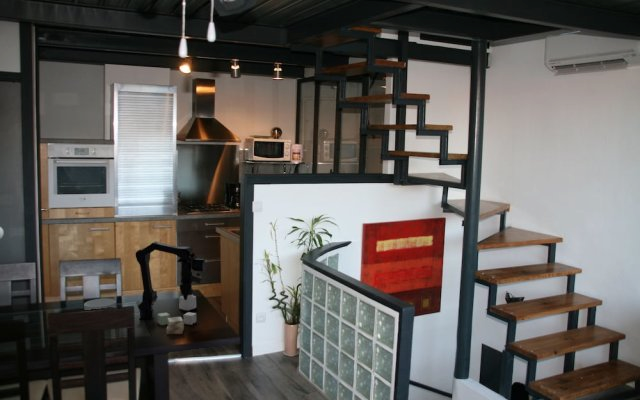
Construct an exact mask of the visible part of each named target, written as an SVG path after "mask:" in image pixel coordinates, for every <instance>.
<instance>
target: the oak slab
mask: <svg viewBox="0 0 640 400" xmlns="http://www.w3.org/2000/svg"><path fill="white" fill-rule="evenodd" d="M184 329H185V324H184V322H183V327H180V328H171V329H169V326H168V325H167V327H166V335H180V334H181V335H182V334H183V333H184Z"/></svg>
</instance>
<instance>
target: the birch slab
mask: <svg viewBox="0 0 640 400" xmlns="http://www.w3.org/2000/svg"><path fill="white" fill-rule="evenodd" d="M183 323H184V319H183V318H182V317H181V316H173V317H170V318H167V324H166V325H167V326H169V329H171V328H180V327H183Z"/></svg>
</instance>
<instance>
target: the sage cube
mask: <svg viewBox="0 0 640 400" xmlns="http://www.w3.org/2000/svg"><path fill="white" fill-rule="evenodd" d="M156 315H157V317H156V318H157V324H159V325H160V326H165V325H168V324H167V318H171V314H170V313H168V312H160V313H156Z"/></svg>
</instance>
